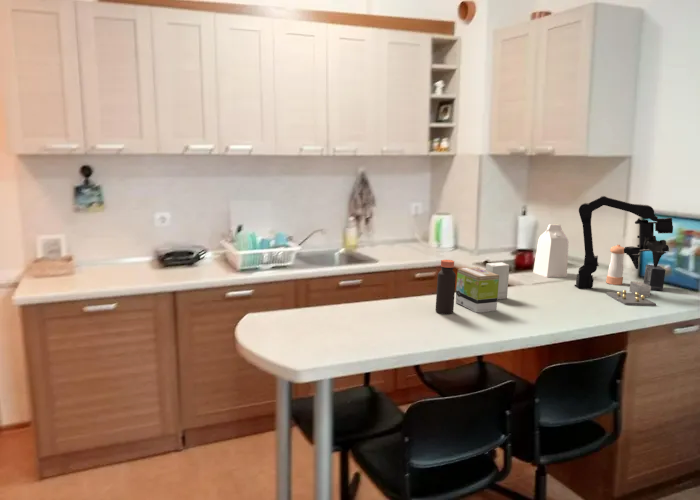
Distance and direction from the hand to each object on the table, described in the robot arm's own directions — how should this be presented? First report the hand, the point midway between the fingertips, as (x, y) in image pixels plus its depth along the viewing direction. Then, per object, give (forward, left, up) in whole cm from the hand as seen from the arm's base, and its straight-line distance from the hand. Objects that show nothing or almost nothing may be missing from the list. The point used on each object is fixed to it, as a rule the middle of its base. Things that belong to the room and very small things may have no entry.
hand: (646, 268), depth 267 cm
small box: (+12, +14, -13) cm, 22 cm away
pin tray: (-11, -11, -12) cm, 20 cm away
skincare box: (-71, -15, -13) cm, 74 cm away
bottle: (-97, -40, -13) cm, 106 cm away
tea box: (-83, -31, -13) cm, 89 cm away
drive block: (-1, +1, -13) cm, 13 cm away
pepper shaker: (-3, +22, -13) cm, 25 cm away
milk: (-29, +38, -13) cm, 50 cm away
